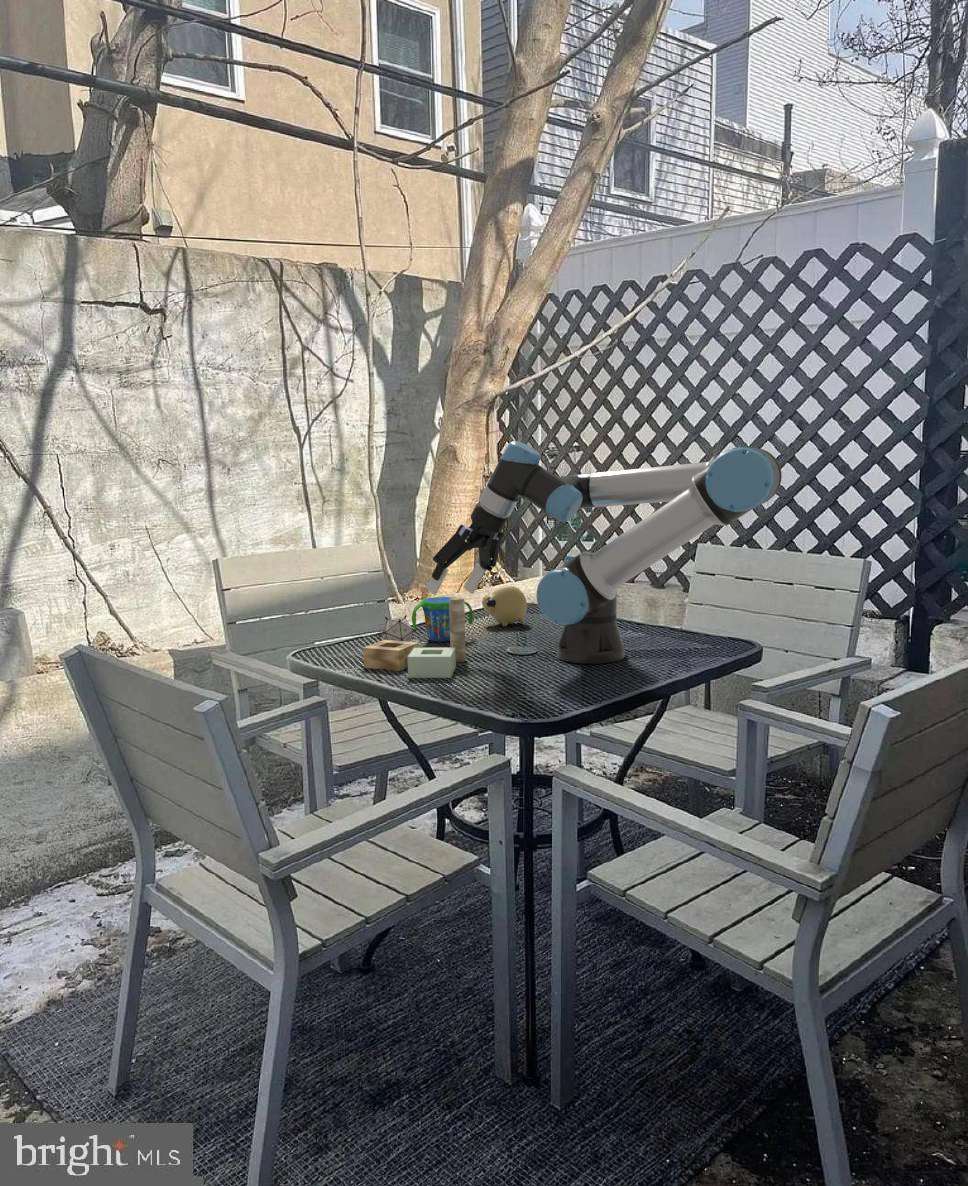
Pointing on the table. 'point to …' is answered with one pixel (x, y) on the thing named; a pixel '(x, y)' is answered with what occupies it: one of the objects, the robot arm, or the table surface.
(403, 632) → the game die
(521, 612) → the beige fuzzy round body
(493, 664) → the table surface
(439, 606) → the snack cup
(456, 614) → the dowel
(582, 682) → the table surface
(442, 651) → the sage bead
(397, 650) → the wooden square ring
